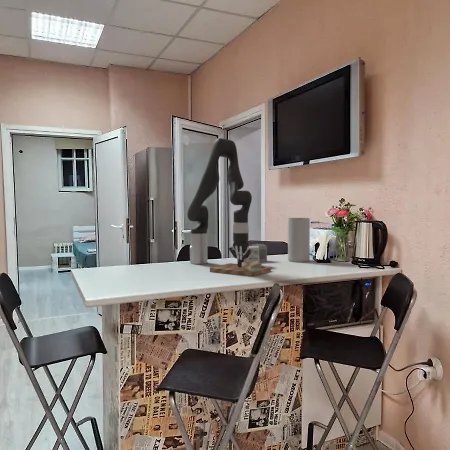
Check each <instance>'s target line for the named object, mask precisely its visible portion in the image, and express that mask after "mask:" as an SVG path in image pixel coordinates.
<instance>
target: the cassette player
mask: <svg viewBox="0 0 450 450" xmlns="http://www.w3.org/2000/svg"><path fill="white" fill-rule="evenodd" d="M249 246H259V261H261V262H268V247H267V246H268V245H265V244H263V243H260V244H259V243H258V244H249Z"/></svg>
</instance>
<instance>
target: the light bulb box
mask: <svg viewBox="0 0 450 450" xmlns="http://www.w3.org/2000/svg"><path fill="white" fill-rule="evenodd" d="M249 247H250V248H251V249H253V251H252V252H251V254H250V255H249V256H248V258H246V259H244V262H245V261H258V262H259V246H249ZM246 252H247V250H246ZM246 252H245V254H246ZM259 263H260V262H259Z"/></svg>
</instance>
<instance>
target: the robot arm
mask: <svg viewBox="0 0 450 450" xmlns="http://www.w3.org/2000/svg"><path fill="white" fill-rule="evenodd" d="M221 157H222V158H227V159H228V160H229V166H228V168H227V171H226V178H227V181H228V182H227V183H228V185H229V201H230V203H231V205H233V206H241V208H240V209H237V210H234V211H233V225H232V241H233V243H232V246H229V247H228V250H229V251H230V253H231V255H232V257H233V258H234V259H236V260H237V263H236V264H237V265H238V267H242V262H244V259H246V258H248V256H249V255H250V254H251V252H252V251H253V249H251V248H250V247H249V245H250V244H249V229H250V228H249V213H250V208H251V204H252V200H253V198H252V193H251V191H249V190H242V189H244V186H245V184H244V180H243V178H242V177H243V176H242V174H241V171H240V165H239V156H238V151H237V146H236V142H235V141H233V140H231V139H228V138H221V137H219V138H216V139H215V140H214V142H213V145H212V147H211V151H210V155H209V159H208V162H207V164H206V168H205V170H204V173H203V174H202V176H201V180H200V184H199V185H198V188H197V191H196V193H195V195H194V197H193V198H192V201H191V203H190V205H189V207H188V209H187V213H186V214H187V219H188V220H189V221H190V222H194V223H195V222H197V224H196V225H195V226H193V227H192V228H191V229H190V242H191V243H190V246H189V263H190V264H193V265H203V264H204V265H205V264H208V229H209V209H208V207H207V206H206V205H204V202H205V201H206V200H207V199H208V198H209V197H211V196H212V195H213V194H214V192H215V191H216V189H217V188H218V185H219V182H220V173H219V170H218V162H219V160H220V158H221ZM246 250H247V252H246ZM245 252H246V254H245Z"/></svg>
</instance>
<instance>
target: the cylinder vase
mask: <svg viewBox="0 0 450 450" xmlns="http://www.w3.org/2000/svg"><path fill="white" fill-rule="evenodd" d="M310 219H311V218H310V217H288V218H287V260H288V262H291V261H292V262H291V263H306V262H307V263H308V262H309V261H310V259H311V258H310V257H311V256H310V252H311V251H310V247H311V246H310V245H311V244H310V242H311V241H310V238H311V237H310V231H311V229H310V226H311V225H310Z"/></svg>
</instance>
